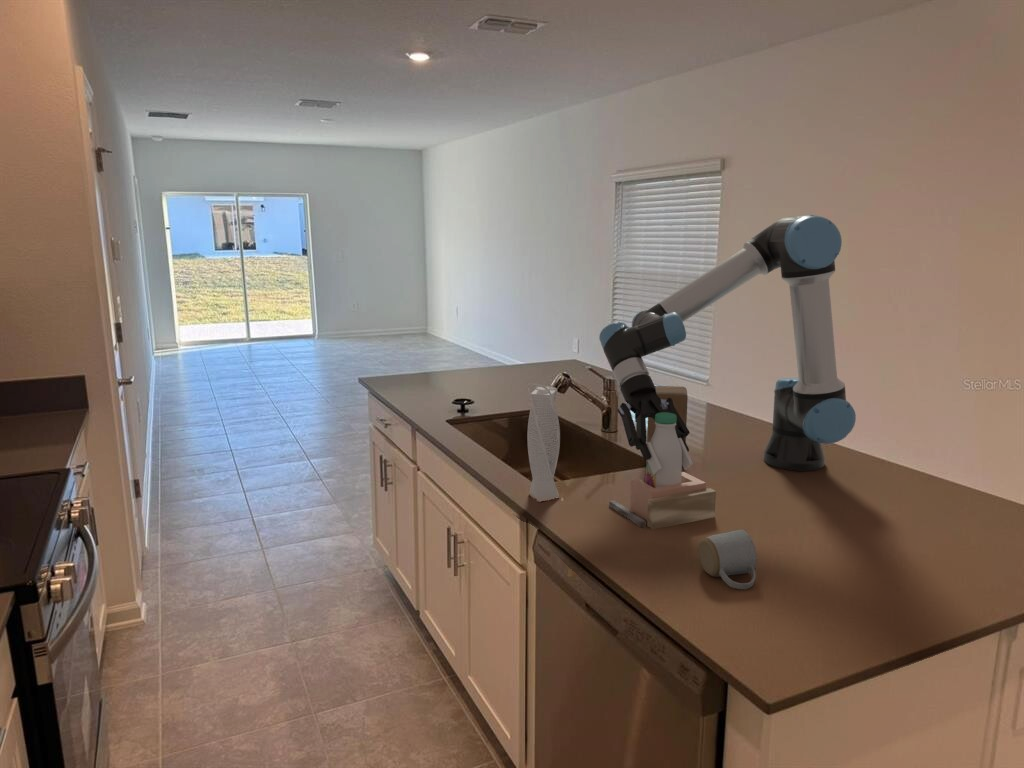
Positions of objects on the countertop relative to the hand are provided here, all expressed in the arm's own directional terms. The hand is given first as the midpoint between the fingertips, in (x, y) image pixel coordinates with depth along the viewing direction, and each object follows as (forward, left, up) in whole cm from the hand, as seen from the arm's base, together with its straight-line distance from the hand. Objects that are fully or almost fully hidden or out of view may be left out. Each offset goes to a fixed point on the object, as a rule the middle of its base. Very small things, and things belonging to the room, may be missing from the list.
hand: (673, 469), depth 150 cm
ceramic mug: (-17, +22, -11) cm, 30 cm away
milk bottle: (+3, -2, -9) cm, 9 cm away
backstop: (+2, -2, -11) cm, 11 cm away
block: (+11, -37, -11) cm, 40 cm away
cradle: (+1, -1, -10) cm, 11 cm away
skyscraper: (+30, +2, -11) cm, 32 cm away
